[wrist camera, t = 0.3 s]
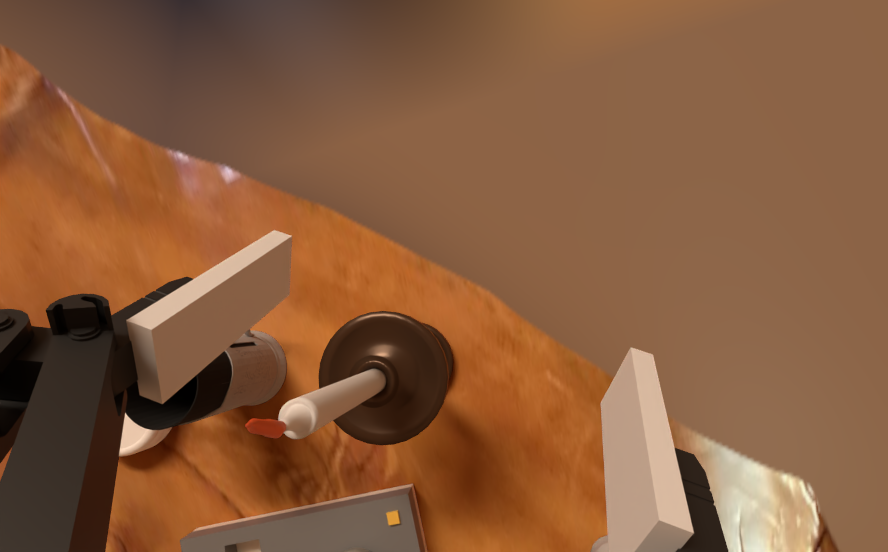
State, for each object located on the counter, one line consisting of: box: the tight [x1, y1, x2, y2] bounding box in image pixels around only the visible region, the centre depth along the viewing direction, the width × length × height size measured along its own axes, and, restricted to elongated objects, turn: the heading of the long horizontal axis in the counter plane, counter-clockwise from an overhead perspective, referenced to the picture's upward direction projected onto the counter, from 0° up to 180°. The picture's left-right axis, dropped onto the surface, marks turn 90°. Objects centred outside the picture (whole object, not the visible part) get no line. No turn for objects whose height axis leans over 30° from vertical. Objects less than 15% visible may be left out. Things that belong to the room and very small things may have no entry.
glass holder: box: [125, 329, 287, 430], centre depth 46 cm, size 9×14×15 cm, turn 166°
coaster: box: [119, 413, 172, 456], centre depth 53 cm, size 10×10×4 cm
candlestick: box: [245, 311, 453, 445], centre depth 34 cm, size 11×11×35 cm
